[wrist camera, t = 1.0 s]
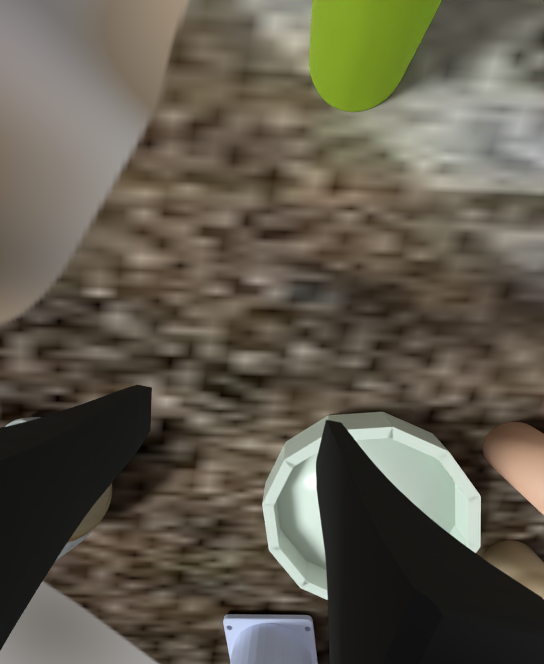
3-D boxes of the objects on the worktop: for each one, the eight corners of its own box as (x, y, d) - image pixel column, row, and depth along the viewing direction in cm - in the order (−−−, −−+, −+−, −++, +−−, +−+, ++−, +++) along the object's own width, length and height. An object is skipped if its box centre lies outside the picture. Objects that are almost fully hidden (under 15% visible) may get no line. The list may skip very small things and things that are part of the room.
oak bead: (535, 582, 22) (604, 669, 17) (481, 582, 22) (533, 667, 17) (537, 539, 21) (610, 617, 16) (481, 540, 22) (536, 616, 17)
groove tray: (462, 578, 22) (479, 610, 20) (279, 579, 24) (277, 608, 22) (461, 406, 20) (481, 421, 18) (257, 420, 21) (252, 435, 19)
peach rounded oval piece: (540, 470, 20) (619, 530, 15) (482, 472, 21) (540, 532, 16) (543, 419, 19) (626, 466, 15) (482, 423, 20) (543, 469, 15)
